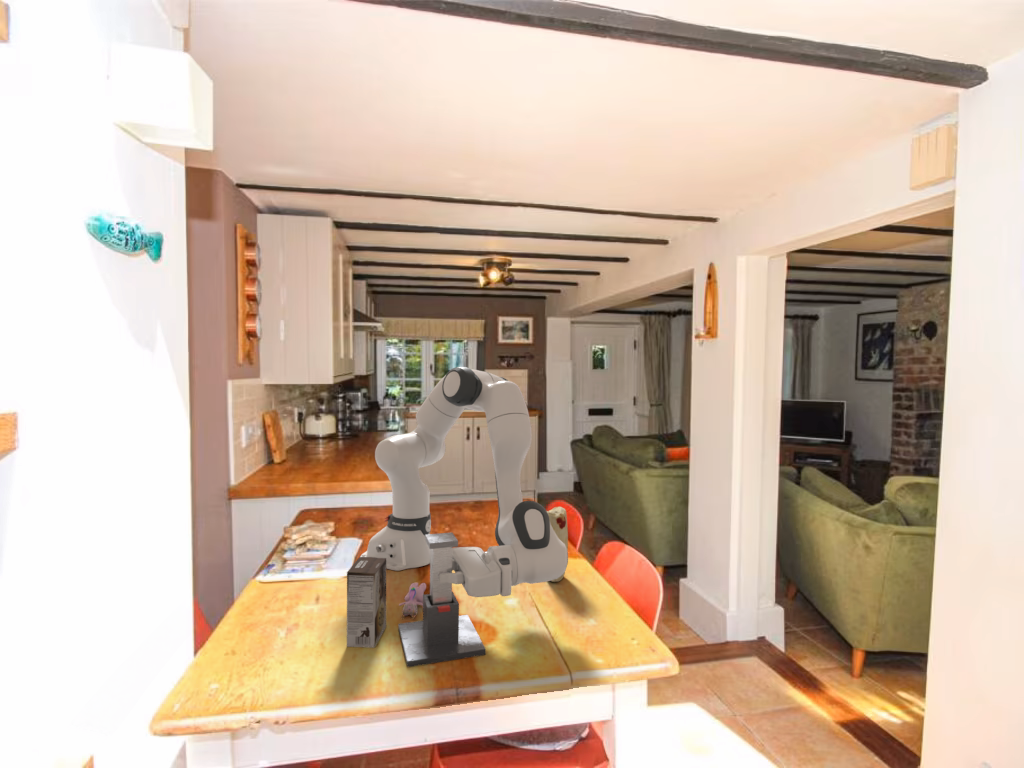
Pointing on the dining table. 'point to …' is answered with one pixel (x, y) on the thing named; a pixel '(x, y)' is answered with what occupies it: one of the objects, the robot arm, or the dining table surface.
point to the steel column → (440, 566)
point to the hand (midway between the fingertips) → (436, 573)
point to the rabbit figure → (413, 600)
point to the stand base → (439, 635)
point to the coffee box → (366, 602)
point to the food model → (559, 527)
